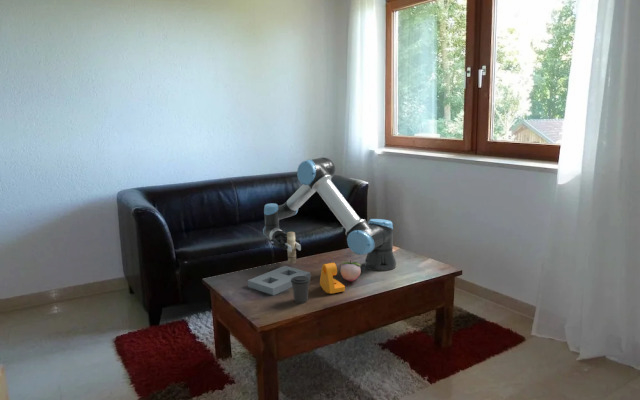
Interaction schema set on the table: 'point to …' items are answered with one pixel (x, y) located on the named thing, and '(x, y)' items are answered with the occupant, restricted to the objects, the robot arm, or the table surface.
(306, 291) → the coffee cup
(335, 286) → the bracket
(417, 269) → the table surface
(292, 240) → the maple leg
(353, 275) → the decorative fruit
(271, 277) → the stool seat
